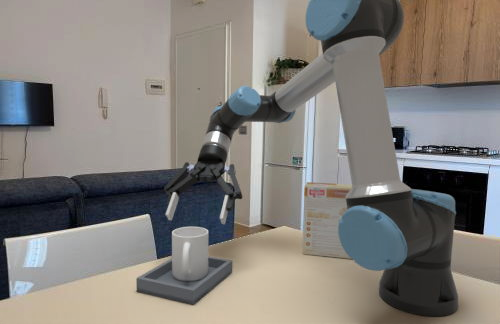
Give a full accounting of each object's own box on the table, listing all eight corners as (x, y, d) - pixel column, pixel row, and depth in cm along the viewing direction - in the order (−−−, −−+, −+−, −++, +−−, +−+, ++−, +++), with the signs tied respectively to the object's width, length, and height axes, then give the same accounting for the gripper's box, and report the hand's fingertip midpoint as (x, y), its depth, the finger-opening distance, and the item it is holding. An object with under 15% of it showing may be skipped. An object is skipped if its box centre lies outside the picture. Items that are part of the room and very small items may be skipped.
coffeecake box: (357, 251, 108) (360, 184, 105) (358, 260, 101) (361, 188, 99) (304, 246, 111) (306, 181, 109) (301, 254, 104) (304, 185, 102)
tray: (232, 272, 91) (232, 260, 91) (193, 305, 75) (193, 290, 74) (183, 263, 97) (183, 251, 96) (136, 291, 80) (136, 278, 80)
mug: (203, 290, 80) (203, 242, 78) (164, 289, 80) (164, 242, 78) (210, 268, 91) (210, 226, 90) (176, 267, 92) (175, 226, 90)
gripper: (260, 162, 103) (248, 230, 90) (175, 159, 109) (152, 223, 96) (257, 144, 98) (243, 214, 85) (167, 141, 103) (141, 207, 90)
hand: (195, 219), depth 90 cm, fingers open, 13 cm apart
